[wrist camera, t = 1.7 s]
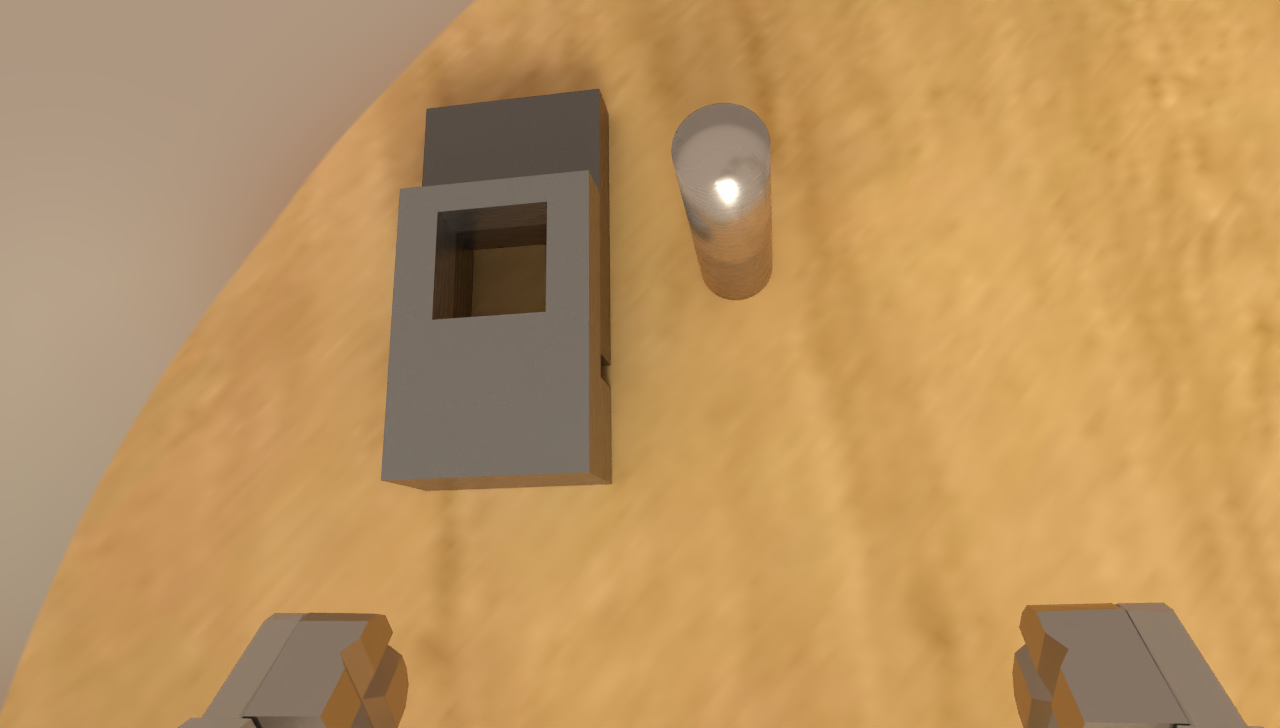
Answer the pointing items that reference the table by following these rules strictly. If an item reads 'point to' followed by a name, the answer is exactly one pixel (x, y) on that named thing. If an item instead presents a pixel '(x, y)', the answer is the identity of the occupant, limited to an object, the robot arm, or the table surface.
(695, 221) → the steel pin
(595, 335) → the grey socket block
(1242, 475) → the table surface
